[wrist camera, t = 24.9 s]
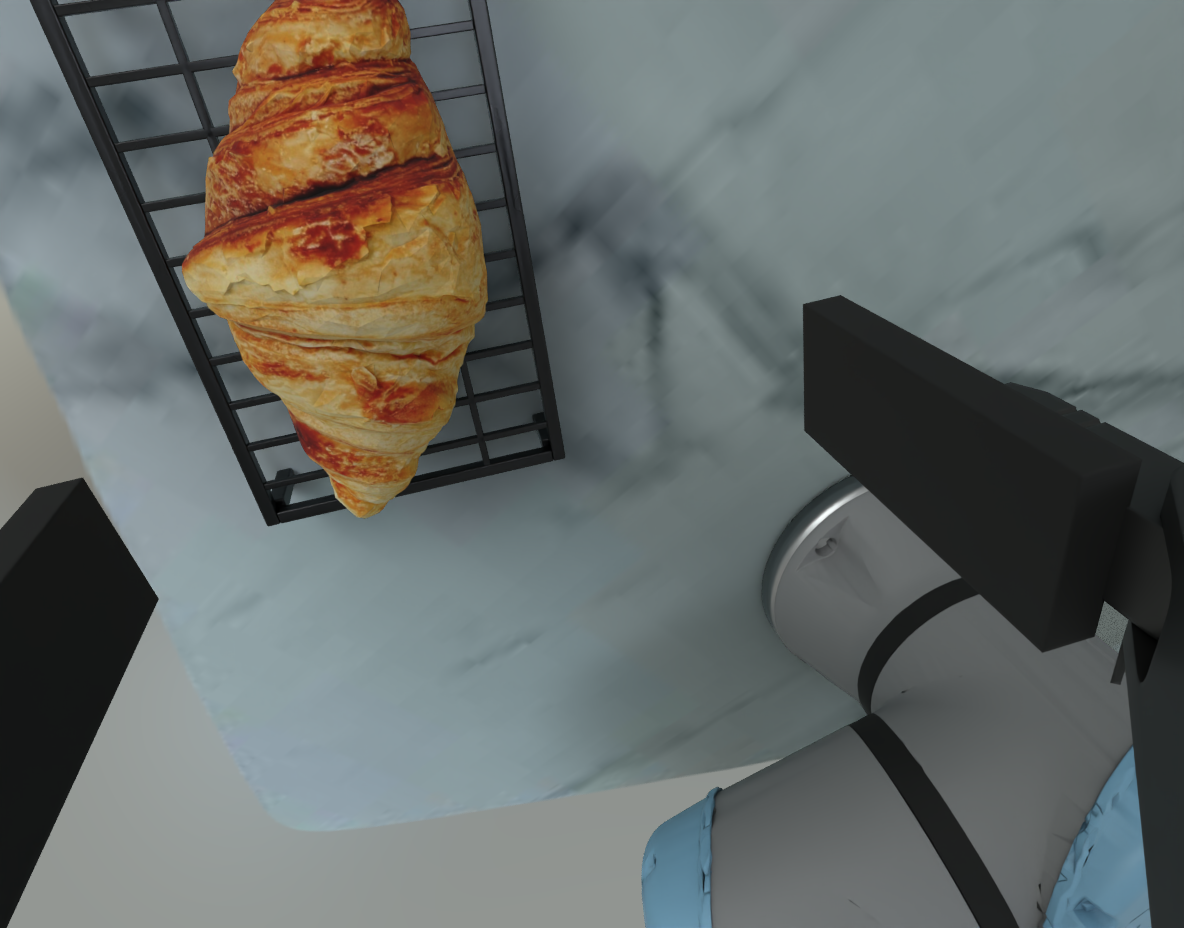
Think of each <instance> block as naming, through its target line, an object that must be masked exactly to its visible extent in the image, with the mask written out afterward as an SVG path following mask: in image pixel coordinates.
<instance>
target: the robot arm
mask: <svg viewBox="0 0 1184 928" xmlns="http://www.w3.org/2000/svg"><path fill="white" fill-rule="evenodd" d="M803 341H804V430H805V432H806V433H808V434H809V435H810V436H811V437H812V438H813V439H814V440H815V441H816V442H817V443H818V444H819V445H820V446H821V447H823V448H824V449H825V450H826V451H827V452H828V453H829V454H830V455H831V456H832V457H833V458H834V459H835V460H836V461H837V462H839V463H840V464H841V465H842V466H843V467H844V468H845V469H846V470H847V471H848V472H849V473H850V474H851V475H852V476H851V477H848V478H846V479H844V480H843V481H841V482H839V483H837V484H835V485H834V486H832V487H831V488H829V489H828V490H826V491H824V492H823V493H822V494H820V495H819V496H818V497H816V498H815V499H814V500H813V501H812V502H810V503H809V504H808V505H807V506H806V507H805V508H804V509H803V510H802V511H801V512H800V513H799V514H798V515H797V516H796V517H795V518H794V519H793V520H792V522H791V523H790V524H789V525H788V526H787V528H786V529H785V530H784V532H783V533H782V535H781V536H780V538H779V539H778V541H777V543H776V544H775V546H774V548H773V550H772V552H771V554H770V557H769V559H768V562H767V564H766V568H765V571H764V576H763V582H762V602H763V607H764V610H765V613H766V616H767V618H768V620H769V622H770V624H771V625H772V627H773V628H774V630H775V631H776V633H777V635H778V636H779V638H780V639H781V641H782V642H783V643H784V645H785V646H786V647H787V648H788V649H789V651H790V652H792V653H793V654H794V655H795V656H797V657H798V658H800V659H801V660H802V661H804V662H805V663H807V664H809V665H810V666H811V667H813V668H814V669H815V670H816V671H818V672H819V673H820V674H822V675H823V676H824V677H826V678H827V679H828V680H830V681H831V682H832V683H834V684H835V685H836V686H838V687H839V688H840V689H842V690H843V691H845V692H846V693H847V694H849V695H850V696H852V697H853V698H854V699H856V700H857V701H858V702H859V703H860V705H861V706H862V707H863V709H864V710H865V712H866V713H867V716H865V717H863V718H862V719H860V720H858V721H856V722H854V723H852V724H850V725H847V726H845V727H843V728H841V729H839V730H837V731H835V732H833V733H831V734H829V735H828V736H826V737H824V738H822V739H820V740H818V741H816V742H814V743H812V744H810V745H808V746H806V747H804V748H803V749H801V750H799V751H797V752H795V753H793V754H791V755H789V756H787V757H785V758H783V759H781V760H779V761H778V762H776V763H774V764H772V765H770V766H768V767H766V768H764V769H762V770H760V771H758V772H756V773H754V774H753V775H751V776H749V777H747V778H745V779H743V780H741V781H739V782H737V783H735V784H734V785H732V786H729V787H728V788H726V789H724V790H723V789H722V788H719V787H716V788H714V789H712V790H711V791H710V792H709V793H708V795H707V797H706V798H705V799H703V800H701V801H699V802H698V803H696V804H694V805H693V806H691V807H689V808H688V809H686V810H684V811H682V812H681V813H679V814H678V815H676V816H674V817H672V818H671V819H669V820H667V821H666V822H664V823H663V824H662V825H660V826H659V827H658V828H657V829H656V830H655V831H654V833H653V834H652V836H651V837H650V839H649V841H648V843H647V846H646V849H645V853H644V857H643V864H642V900H643V910H644V919H645V927H646V928H1184V463H1183V462H1181V461H1179V460H1177V459H1175V458H1173V457H1171V456H1169V455H1167V454H1166V453H1164V452H1162V451H1160V450H1158V449H1156V448H1154V447H1152V446H1150V445H1148V444H1146V443H1144V442H1142V441H1141V440H1139V439H1137V438H1135V437H1133V436H1131V435H1129V434H1127V433H1125V432H1123V431H1121V430H1119V429H1117V428H1115V427H1114V426H1112V425H1110V424H1108V423H1106V422H1105V423H1100V421H1099V419H1098V418H1096V417H1094V416H1092V415H1090V414H1089V413H1087V412H1085V411H1083V410H1079V411H1077V410H1076V407H1075V406H1073V405H1071V404H1069V403H1067V402H1065V401H1064V400H1062V399H1060V398H1058V397H1056V396H1054V395H1052V394H1050V393H1048V392H1045V391H1041V390H1038V389H1034V388H1030V387H1026V386H1023V385H1019V384H1015V383H1011V382H1010V383H1007V384H1003V383H1001V382H999V381H997V380H996V379H994V378H992V377H990V376H988V375H986V374H985V373H983V372H981V371H979V370H977V369H975V368H974V367H972V366H970V365H968V364H966V363H964V362H962V361H961V360H959V359H957V358H955V357H953V356H951V355H950V354H948V353H946V352H944V351H942V350H940V349H939V348H937V347H935V346H933V345H931V344H929V343H928V342H926V341H924V340H922V339H920V338H918V337H916V336H915V335H913V334H911V333H909V332H907V331H905V330H904V329H902V328H900V327H898V326H896V325H894V324H893V323H891V322H889V321H887V320H885V319H883V318H882V317H880V316H878V315H876V314H874V313H872V312H870V311H869V310H867V309H865V308H863V307H861V306H859V305H858V304H856V303H854V302H852V301H850V300H848V299H847V298H845V297H843V296H841V295H839V296H835V297H831V298H827V299H823V300H819V301H815V302H810V303H806V304H803ZM1104 601H1105V602H1107V603H1108V604H1109V605H1110V606H1112V607H1113V608H1114V609H1116V610H1117V611H1118V612H1119V613H1121V614H1122V615H1123V616H1125V617H1126V618H1127V619H1129V620H1128V623H1127V627H1126V630H1125V633H1124V637H1123V640H1122V643H1121V647H1120V650H1119V653H1117V652H1116V651H1115V650H1114V649H1112V648H1111V647H1110V646H1109V645H1108V644H1106V643H1105V642H1104V641H1103V640H1102V639H1100V638H1099V637H1098V636H1097V635H1096V634H1095V633H1096V629H1097V626H1098V622H1099V618H1100V615H1101V611H1102V607H1103V603H1104ZM157 602H158V597H157V595H156V594H155V592H154V591H153V589H152V587H151V586H150V584H149V583H148V581H147V579H146V578H145V576H144V575H143V573H142V571H141V570H140V568H139V567H138V565H137V563H136V562H135V560H134V559H133V557H132V555H131V554H130V552H129V551H128V549H127V547H126V546H125V544H124V543H123V541H122V539H121V538H120V536H119V535H118V533H117V531H116V530H115V528H114V527H113V525H112V523H111V522H110V520H109V519H108V517H107V515H106V514H105V512H104V511H103V509H102V507H101V506H100V504H99V503H98V501H97V499H96V498H95V496H94V495H93V493H92V492H91V490H90V488H89V487H88V485H87V483H86V482H85V480H84V479H83V478H79V479H75V480H70V481H66V482H62V483H58V484H54V485H50V486H46V487H41V488H37V489H35V490H34V491H33V493H32V494H31V495H30V496H29V497H28V498H27V500H26V501H25V502H24V503H23V504H22V505H21V506H20V508H19V509H18V510H17V511H16V512H15V513H14V514H13V516H12V517H11V518H10V519H9V520H8V521H7V523H6V524H5V525H4V526H3V527H2V528H1V530H0V928H7V926H8V924H9V921H10V919H11V917H12V915H13V913H14V911H15V908H16V906H17V904H18V902H19V900H20V898H21V896H22V893H23V891H24V889H25V887H26V885H27V882H28V880H29V878H30V876H31V874H32V872H33V870H34V867H35V865H36V863H37V861H38V859H39V856H40V854H41V852H42V850H43V848H44V846H45V844H46V841H47V839H48V837H49V835H50V833H51V831H52V829H53V826H54V824H55V822H56V820H57V817H58V816H59V813H60V811H61V809H62V807H63V805H64V803H65V800H66V798H67V796H68V794H69V792H70V789H71V788H72V785H73V783H74V781H75V779H76V777H77V775H78V772H79V770H80V768H81V766H82V763H83V762H84V759H85V757H86V755H87V753H88V751H89V748H90V746H91V744H92V742H93V740H94V738H95V736H96V733H97V731H98V729H99V727H100V725H101V722H102V720H103V718H104V716H105V714H106V712H107V710H108V707H109V705H110V703H111V701H112V699H113V697H114V695H115V692H116V690H117V688H118V686H119V684H120V681H121V679H122V677H123V675H124V673H125V671H126V668H127V666H128V664H129V662H130V660H131V658H132V656H133V653H134V651H135V649H136V647H137V645H138V643H139V641H140V638H141V636H142V634H143V632H144V630H145V628H146V625H147V623H148V621H149V619H150V616H151V614H152V612H153V610H154V608H155V606H156V604H157Z"/></svg>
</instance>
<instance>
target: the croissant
mask: <svg viewBox="0 0 1184 928" xmlns="http://www.w3.org/2000/svg"><path fill="white" fill-rule="evenodd" d="M410 54H411V49H410V29H409V25H408V22H407V18H406V14H405V11H404V8H403V7H402V5H401V4H400V3H399V1H398V0H275V1H274V2H273V4H272V5H271V6H270V7H269V8H268V9H267V10H266V11H265V13H264V14H262V15H261V16H260V18H259V19H258V20H257V21H256V23H255V24H254V25H253V27H252V28H251V29H250V31H249V32H248V34H247V36H246V38H245V40H244V42H243V44H242V46H241V49H240V52H239V57H238V61H237V64H236V66H235V67H234V69H233V71H232V72H233V74H234V75H235V77H236V79H237V81H238V83H237V89H236V94H235V95H234V96H233V97H232V98H231V99H230V100H229V106H228V115H229V117H230V129H229V134H228V135H226V136H225V137H224V138H223V139H222V140H221V142H220V143H219V145H218V147H217V148H216V150H215V151H214V154H213V157H209V160H208V165H207V172H206V179H205V180H206V201H205V236H204V239H202V240H201V241H200V242H199V243H197V244H196V245H195V246H193V249H192V250H191V251H190V252H189V254H188V255H187V257H186V258H185V260H184V262H183V264H182V273H183V276H184V279H185V282H186V285H187V286H188V287H189V289H190V290H191V291H192V293H194V294H195V295H196V296H197V297H198V298H199V299H200V300H201V301H202V302H205V303H207V306H208V307H209V308H210V309H211V310H212V311H213V312H214V313H215V314H217V315H218V316H219V317H221V318H224V319H227V321H228V324H229V327H230V330H231V333H232V335H233V337H234V341H235V342H236V344H237V346H238V348H239V351H240V354H241V356H242V359H243V361H244V363H245V364H246V365H247V367H248V368H249V369H250V371H251V372H252V373H253V375H254V376H255V377H256V379H257V380H258V381H259V382H260V383H261V384H262V385H263V386H264V387H266V388H267V389H268V390H269V391H271V392H273V393H275V394H277V395H278V396H279V397H280V398H281V399H282V401H283V403H284V404H285V405H286V406H287V409H288V411H289V414H290V416H291V419H292V422H293V424H294V427H295V430H296V433H297V435H298V438H299V441H300V443H301V445H302V447H303V449H304V451H305V452H306V454H307V455H308V456H309V458H310V459H311V460H313V461H314V462H315V463H317V464H318V465H320V466H321V467H322V468H323V469H324V470H325V471H326V472H327V474H328V475H329V476H330V482H331V485H332V487H333V489H334V494H335V498H336V499H337V500H339V501H340V502H341V503H342V504H343V505H344V506H345V507H346V508H347V509H348V510H349V511H351V512H352V513H353V514H354V515H355V516H356V517H360V518H364V519H365V518H368V517H370V516H373V515H375V514H377V513H379V512H380V511H381V510H383V508H384V507H385V505H386V504H387V502H388V501H389V500H391V499H393V498H394V497H395V496H396V495H397V494H399V493H400V492H402V491H403V490H405V488H406V487H407V486H408V485H409V483H410V481H411V479H412V478H413V477H414V476H415V474H416V471H417V468H418V460H419V457H420V455H421V453H423V452H424V451H425V450H426V448H427V445H428V443H429V441H431V440H432V439H433V438H434V437H435V436H436V435H437V434H438V432H439V431H441V428H442V427H443V426H444V425H446V424H447V423H448V421H449V419H450V416H451V413H452V410H453V408H454V406H455V403H456V393H457V392H458V385H457V379H458V375H459V371H460V367H461V366H462V365H463V360H464V356H465V354H466V351H467V346H468V344H469V342H470V341H471V340H472V339H473V338H474V337H475V323H477V322H479V321H480V320H481V319H482V318H483V317H484V315H485V304H486V303H487V301H488V295H487V270H486V265H485V259H484V252H483V242H482V232H481V224H480V220H479V217H478V213H477V209H476V206H475V203H474V200H473V197H472V194H471V191H470V189H469V187H468V184H467V181H466V178H465V175H464V173H463V171H462V169H461V167H460V165H459V164H458V162H457V160H456V157H455V154H454V152H453V149H452V146H451V144H450V141H449V139H448V136H447V133H446V130H445V126H444V123H443V121H442V119H441V116H440V114H439V111H438V109H437V106H436V104H435V101H434V99H433V96H432V94H431V92H430V91H429V89H428V87H427V86H426V84H425V82H424V80H423V78H422V77H421V75H420V73H419V71H418V69H417V67H416V65H415V63H414V62H412V60H411V59H410Z"/></svg>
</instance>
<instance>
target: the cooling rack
mask: <svg viewBox="0 0 1184 928" xmlns="http://www.w3.org/2000/svg"><path fill="white" fill-rule="evenodd" d="M173 1H180V0H90V1H83V2H75V3H68V4H61V5H59V4H58V1H57V0H30V2H31V4H32V6H33V9H34V11H35V13H36V15H37V17H38V20H39V22H40V24H41V26H42V29H43V31H44V33H45V35H46V37H47V40H48V42H49V44H50V46H51V48H52V51H53V53H54V55H55V57H56V60H57V62H58V64H59V66H60V68H61V71H62V73H63V75H64V77H65V79H66V82H67V84H68V86H69V88H70V90H71V93H72V95H73V97H74V99H75V102H76V104H77V106H78V108H79V110H80V113H81V115H82V117H83V119H84V121H85V124H86V126H87V128H88V130H89V132H90V135H91V137H92V139H93V141H94V144H95V146H96V148H97V150H98V152H99V155H100V157H101V159H102V161H103V163H104V166H105V168H106V170H107V172H108V175H109V177H110V179H111V181H112V183H113V186H114V188H115V190H116V192H117V194H118V197H119V199H120V201H121V203H122V205H123V208H124V210H125V212H126V214H127V217H128V219H129V221H130V223H131V225H132V228H133V230H134V232H135V234H136V236H137V239H138V241H139V243H140V245H141V247H142V250H143V252H144V254H145V256H146V259H147V261H148V263H149V265H150V267H151V270H152V272H153V274H154V276H155V278H156V281H157V283H158V285H159V287H160V289H161V292H162V294H163V296H164V298H165V301H166V303H167V305H168V307H169V309H170V312H171V314H172V316H173V318H174V320H175V323H176V325H177V327H178V329H179V332H180V334H181V336H182V338H183V340H184V343H185V345H186V347H187V349H188V351H189V354H190V356H191V358H192V360H193V362H194V365H195V367H196V369H197V371H198V374H199V376H200V378H201V380H202V382H203V385H204V387H205V389H206V391H207V393H208V396H209V398H210V400H211V402H212V404H213V407H214V409H215V411H216V413H217V416H218V418H219V420H220V422H221V424H222V427H223V429H224V431H225V433H226V435H227V438H228V440H229V442H230V444H231V447H232V449H233V451H234V453H235V455H236V458H237V460H238V462H239V464H240V466H241V469H242V471H243V473H244V475H245V477H246V480H247V482H248V484H249V486H250V489H251V491H252V493H253V495H254V497H255V500H256V502H257V504H258V506H259V508H260V511H261V513H262V515H263V517H264V519H265V522H266V524H267V526H272V525H276V524H280V522H281V523H285V522H289V521H294V520H298V519H303V518H307V517H311V516H316V515H320V514H324V513H329V512H333V511H337V510H342V509H346V507H345V506H344V505H343V504H342V503H341V502H340V501H339V500H337V499H336V498H335V494H334V495H329V496H325V497H320V498H316V499H311V500H307V501H303V502H298V503H294V504H289V503H290V499H291V495H292V491H293V487H294V484H297V483H301V482H306V481H310V480H315V479H319V478H324V477H328V476H329V475H328V474H327V472H326V471H325V470H324V469H321V470H316V471H312V472H307V473H303V474H298V475H294V474H293V472H292V469H291V468H289V469H285V470H280V471H277V474H276V478H275V480H271V481H266V479H265V477H264V474H263V472H262V470H261V468H260V465H259V463H258V461H257V458H256V456H255V454H254V452H253V451H255V450H260V449H265V448H269V447H274V446H278V445H283V444H288V443H292V442H297V441H299V438H298V435H297V433H293V434H289V435H284V436H279V437H275V438H270V439H265V440H261V441H256V442H251V443H250V442H249V440H248V438H247V435H246V433H245V431H244V429H243V426H242V424H241V422H240V419H239V417H238V415H237V412H236V410H237V409H241V408H246V407H251V406H256V405H260V404H265V403H270V402H275V401H280V400H282V399H281V398H280V397H279V396H278V395H277V394H275V393H270V394H265V395H261V396H256V397H251V398H246V399H241V400H236V401H231V399H230V396H229V394H228V392H227V390H226V387H225V385H224V383H223V380H222V378H221V376H220V373H219V371H218V369H217V367H216V366H217V365H222V364H227V363H232V362H237V361H242V360H243V359H242V356H241V354H240V352H235V353H230V354H225V355H220V356H215V357H212V355H211V353H210V350H209V348H208V346H207V344H206V341H205V339H204V337H203V334H202V332H201V330H200V328H199V325H198V323H197V321H196V318H199V317H204V316H210V315H215V313H214V312H213V311H212V310H211V309H210V308H209V307H208V306H207V307H202V308H196V309H191V307H190V305H189V302H188V300H187V298H186V295H185V293H184V291H183V288H182V286H181V284H180V282H179V279H178V277H177V275H176V272H175V270H174V268H173V267H177V266H182V264H183V262H184V260H185V258H186V257H187V255H183V256H178V257H172V258H169V256H168V254H167V252H166V249H165V247H164V245H163V243H162V240H161V238H160V236H159V233H158V231H157V229H156V226H155V224H154V222H153V220H152V217H151V215H150V213H149V212H152V211H157V210H163V209H169V208H175V207H181V206H186V205H192V204H198V203H204V202H205V201H206V192H203V193H198V194H192V195H186V196H180V197H174V198H168V199H163V200H157V201H151V202H145V201H144V199H143V197H142V194H141V192H140V190H139V187H138V185H137V183H136V181H135V178H134V176H133V174H132V171H131V169H130V167H129V165H128V162H127V160H126V158H125V155H124V153H123V152H127V151H133V150H139V149H145V148H151V147H158V146H164V145H170V144H176V143H182V142H188V141H195V140H201V139H207V140H208V142H209V145H210V148H211V150H212V153H213V154H214V151H215V150H216V148H217V147H218V145H219V143H220V142H219V140H218V137H219V136H225V135H228V134H229V129H230V125H224V126H217V127H214V126H213V123H212V120H211V118H210V115H209V112H208V110H207V107H206V104H205V101H204V99H203V96H202V93H201V91H200V88H199V85H198V82H197V80H196V77H195V74H194V72H198V71H205V70H211V69H218V68H225V67H231V66H236V64H237V61H238V57H239V55H233V56H226V57H220V58H213V59H206V60H199V61H193V62H190V61H189V58H188V55H187V53H186V50H185V47H184V44H183V42H182V39H181V36H180V34H179V31H178V28H177V25H176V23H175V20H174V17H173V15H172V12H171V9H170V6H169V4H168V2H173ZM151 4H157V7H158V9H159V12H160V15H161V17H162V20H163V23H164V25H165V28H166V31H167V33H168V36H169V38H170V41H171V44H172V46H173V49H174V52H175V54H176V57H177V60H178V62H179V64H173V65H166V66H159V67H152V68H146V69H139V70H132V71H126V72H119V73H112V74H105V75H99V76H92V77H90V75H89V73H88V70H87V68H86V66H85V63H84V61H83V59H82V57H81V54H80V52H79V50H78V47H77V45H76V43H75V41H74V38H73V36H72V34H71V31H70V29H69V27H68V24H67V22H66V20H65V18H64V17H65V16H72V15H79V14H86V13H94V12H101V11H108V10H115V9H122V8H130V7H137V6H144V5H151ZM468 5H469V10H470V15H471V20H468V21H462V22H455V23H448V24H441V25H435V26H428V27H421V28H415V29H410V39H417V38H424V37H430V36H437V35H444V34H450V33H457V32H464V31H470V30H473V32H474V37H475V42H476V48H477V53H478V59H479V64H480V70H481V75H482V80H483V84H479V85H473V86H467V87H461V88H454V89H448V90H442V91H436V92H431V94H432V96H433V99H434V101H441V100H447V99H454V98H460V97H466V96H472V95H478V94H484V93H485V97H486V102H487V107H488V113H489V118H490V124H491V129H492V134H493V140H494V143H490V144H484V145H478V146H472V147H466V148H461V149H455V150H453V152H454V154H455V157H456V159H458V158H464V157H470V156H476V155H481V154H487V153H493V152H496V156H497V162H498V167H499V172H500V178H501V183H502V189H503V194H504V197H503V198H498V199H492V200H487V201H481V202H476V203H475V206H476V209H477V212H478V211H483V210H489V209H494V208H500V207H505V206H506V210H507V216H508V221H509V227H510V232H511V237H512V243H513V248H511V249H506V250H501V251H496V252H490V253H485V254H484V259H485V263H486V262H491V261H496V260H501V259H506V258H512V257H515V259H516V264H517V270H518V275H519V281H520V286H521V292H522V296H517V297H512V298H507V299H502V300H497V301H492V302H487V303H486V304H485V312H486V311H491V310H496V309H501V308H506V307H511V306H516V305H521V304H524V308H525V313H526V319H527V324H528V329H529V335H530V340H526V341H521V342H516V343H511V344H507V345H502V346H497V347H492V348H487V349H483V350H478V351H473V352H468V353H466V354H465V356H464V360H463V365H462V366H461V367H460V368H461V372H462V376H463V381H464V385H465V389H466V393H467V396H466V397H461V398H456V403H455V406H454V407H459V406H463V405H468V404H469V405H470V409H471V413H472V417H473V422H474V426H475V430H476V434H477V435H474V436H470V437H465V438H460V439H456V440H451V441H447V442H442V443H438V444H433V445H429V446H427V448H426V450H425V451H424V452H423V453H421V455H420V456H422V455H427V454H431V453H435V452H440V451H444V450H449V449H453V448H458V447H462V446H467V445H471V444H476V443H479V446H480V450H481V454H482V458H483V461H479V462H475V463H470V464H466V465H461V466H457V467H453V468H448V469H444V470H439V471H435V472H430V473H426V474H422V475H417V476H414V477H413V478H412V479H411V481H410V483H409V485H408V486H407V487H406V488H405V490H403V491H402V492H400V493H399V494H397V495H396V496H395V497H398V496H403V495H407V494H411V493H416V492H420V491H424V490H429V489H433V488H437V487H442V486H446V485H451V484H455V483H459V482H464V481H468V480H472V479H477V478H481V477H485V476H490V475H494V474H498V473H503V472H507V471H511V470H516V469H520V468H525V467H529V466H533V465H538V464H542V463H546V462H551V461H553V460H559V459H564V458H565V451H564V445H563V439H562V434H561V428H560V422H559V416H558V410H557V405H556V399H555V393H554V387H553V382H552V376H551V370H550V364H549V358H548V353H547V347H546V341H545V335H544V330H543V324H542V318H541V312H540V307H539V301H538V295H537V289H536V283H535V278H534V272H533V266H532V260H531V255H530V249H529V243H528V237H527V231H526V226H525V220H524V214H523V208H522V203H521V197H520V191H519V185H518V180H517V174H516V168H515V162H514V156H513V151H512V145H511V139H510V133H509V128H508V122H507V116H506V110H505V105H504V99H503V93H502V87H501V81H500V76H499V70H498V64H497V58H496V53H495V47H494V41H493V35H492V29H491V24H490V18H489V12H488V6H487V1H486V0H468ZM178 74H183V76H184V78H185V81H186V84H187V86H188V89H189V92H190V94H191V97H192V100H193V102H194V105H195V108H196V110H197V113H198V116H199V118H200V121H201V124H202V126H203V129H199V130H193V131H186V132H180V133H174V134H168V135H161V136H155V137H149V138H143V139H136V140H130V141H124V142H118V139H117V137H116V135H115V132H114V130H113V128H112V125H111V123H110V121H109V119H108V116H107V114H106V112H105V109H104V107H103V105H102V103H101V100H100V98H99V96H98V93H97V91H96V89H95V87H98V86H105V85H112V84H118V83H125V82H132V81H138V80H145V79H152V78H158V77H165V76H171V75H178ZM529 348H532V351H533V356H534V362H535V367H536V373H537V378H538V381H535V382H531V383H526V384H521V385H517V386H512V387H507V388H503V389H498V390H493V391H489V392H484V393H479V394H475V395H474V392H473V388H472V384H471V380H470V376H469V371H468V367H467V363H466V361H471V360H476V359H481V358H486V357H490V356H495V355H500V354H505V353H510V352H514V351H519V350H524V349H529ZM537 389H540V394H541V400H542V405H543V411H544V412H542V413H538V414H533V421H534V422H533V423H528V424H524V425H519V426H515V427H510V428H506V429H501V430H497V431H492V432H488V433H483V430H482V426H481V422H480V418H479V413H478V409H477V405H476V403H477V402H482V401H486V400H491V399H496V398H500V397H505V396H510V395H514V394H519V393H523V392H528V391H533V390H537ZM534 430H536V431H537V434H538V437H539V440H540V443H541V446H542V447H541V448H536V449H532V450H527V451H523V452H519V453H514V454H510V455H505V456H501V457H497V458H492V459H489V455H488V451H487V447H486V443H485V441H489V440H494V439H498V438H503V437H507V436H512V435H516V434H520V433H525V432H529V431H534ZM270 489H272V491H270Z"/></svg>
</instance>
